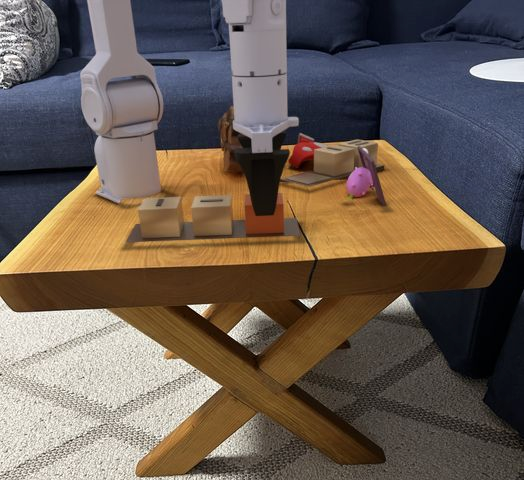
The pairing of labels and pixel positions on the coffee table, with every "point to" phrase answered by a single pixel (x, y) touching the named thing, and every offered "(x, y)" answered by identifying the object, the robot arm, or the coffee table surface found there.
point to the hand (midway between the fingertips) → (264, 204)
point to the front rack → (195, 221)
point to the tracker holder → (304, 150)
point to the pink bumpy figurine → (364, 178)
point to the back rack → (336, 163)
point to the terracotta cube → (264, 218)
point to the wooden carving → (229, 141)
